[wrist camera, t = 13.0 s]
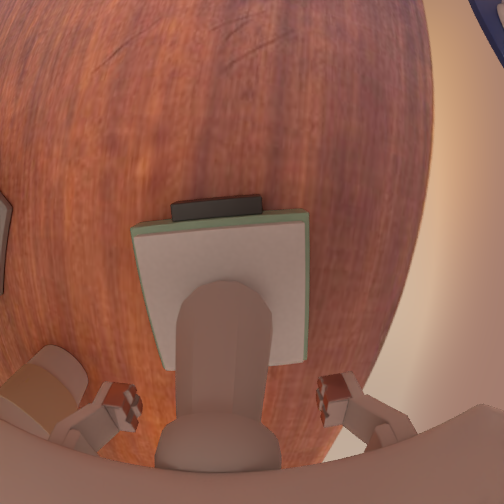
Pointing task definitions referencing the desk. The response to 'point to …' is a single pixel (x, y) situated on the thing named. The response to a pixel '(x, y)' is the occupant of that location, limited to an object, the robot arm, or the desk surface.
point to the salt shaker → (220, 384)
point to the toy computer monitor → (3, 234)
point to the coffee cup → (43, 391)
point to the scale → (227, 266)
